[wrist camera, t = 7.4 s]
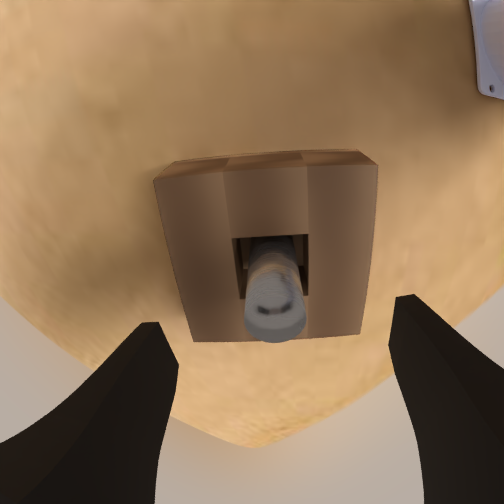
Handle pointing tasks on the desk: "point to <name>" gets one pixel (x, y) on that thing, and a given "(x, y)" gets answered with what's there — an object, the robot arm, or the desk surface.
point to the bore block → (270, 234)
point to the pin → (274, 290)
